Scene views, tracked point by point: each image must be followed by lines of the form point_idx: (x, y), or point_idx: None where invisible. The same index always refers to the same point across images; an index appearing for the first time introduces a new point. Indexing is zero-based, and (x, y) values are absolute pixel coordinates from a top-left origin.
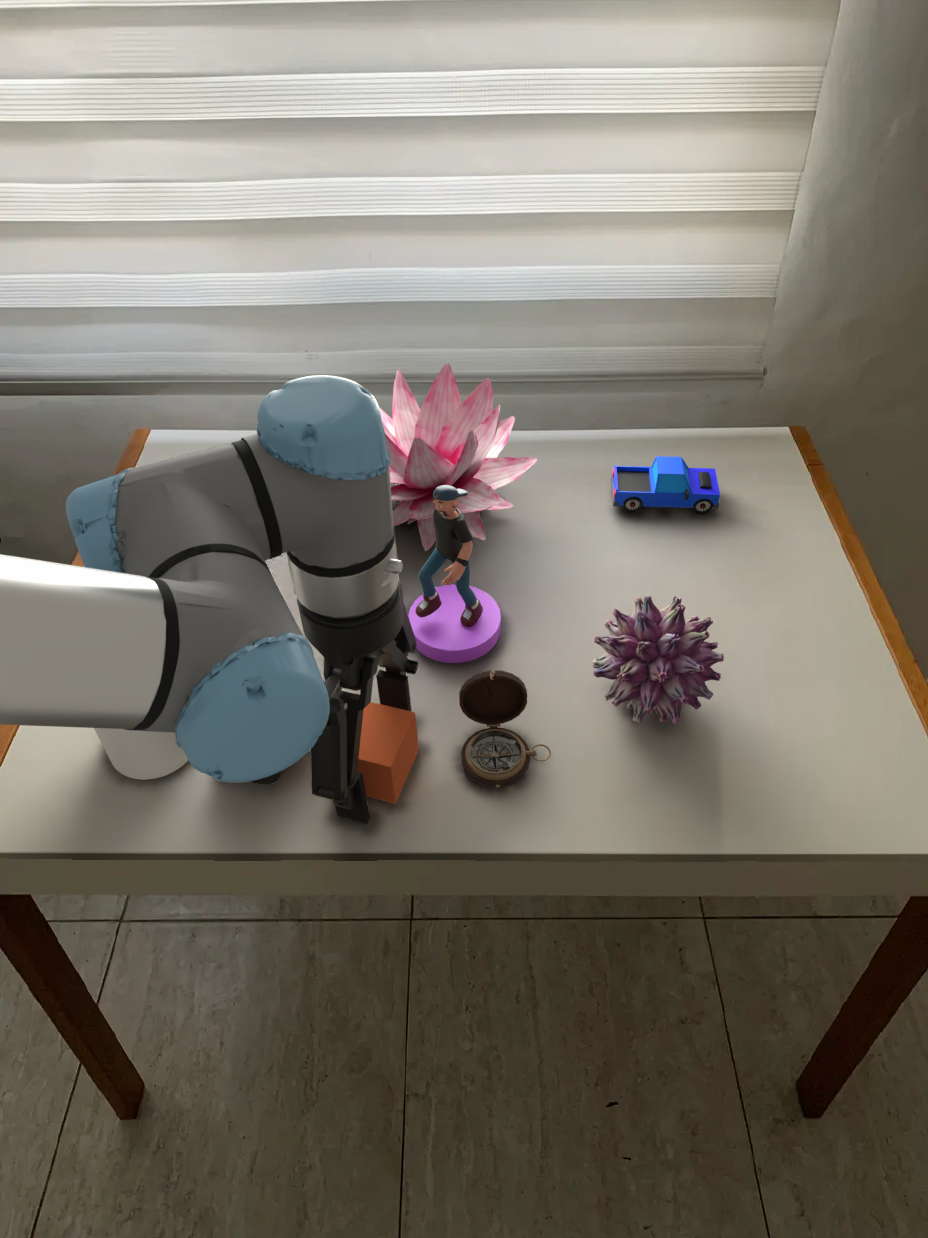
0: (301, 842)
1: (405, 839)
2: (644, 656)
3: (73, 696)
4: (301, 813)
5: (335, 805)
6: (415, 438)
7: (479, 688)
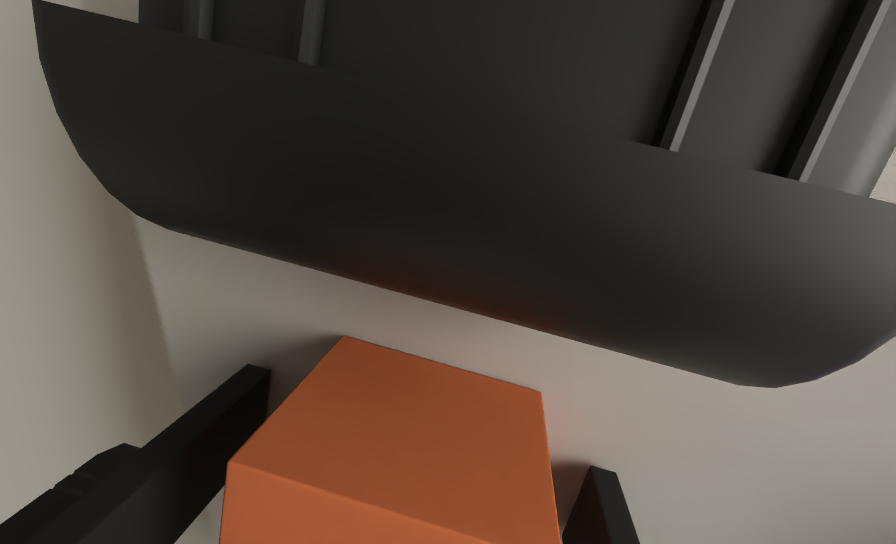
0: (165, 274)
1: None
2: None
3: None
4: (248, 259)
5: (122, 444)
6: None
7: None
